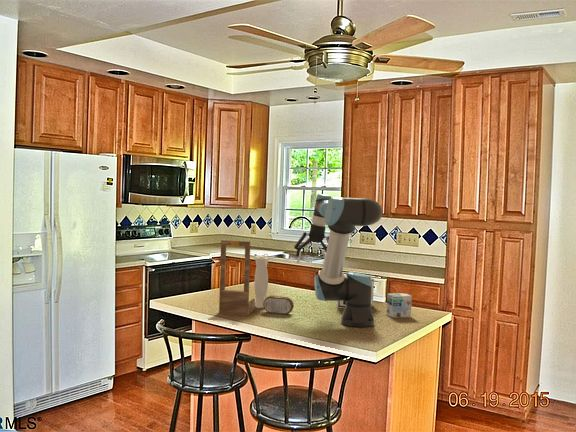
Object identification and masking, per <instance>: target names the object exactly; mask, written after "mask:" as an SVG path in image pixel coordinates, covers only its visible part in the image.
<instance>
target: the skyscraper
mask: <svg viewBox="0 0 576 432" xmlns="http://www.w3.org/2000/svg"><path fill="white" fill-rule="evenodd" d="M266 256H267V257H266ZM269 258H270V257H269V254H268V253H264V254H263V255H256V256H254V260H255V265H256V266H255V272H254V278H253V280H254V282H253V283H254V284H253V285H254V286H253V287H254V295H255V309H258V310H259V309H264V306H263V303H264V300H265V299H266V298H267V297H268V296H267V293H268V287H269V273H268V267H267V266H268V263H269V260H270V259H269Z"/></svg>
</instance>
